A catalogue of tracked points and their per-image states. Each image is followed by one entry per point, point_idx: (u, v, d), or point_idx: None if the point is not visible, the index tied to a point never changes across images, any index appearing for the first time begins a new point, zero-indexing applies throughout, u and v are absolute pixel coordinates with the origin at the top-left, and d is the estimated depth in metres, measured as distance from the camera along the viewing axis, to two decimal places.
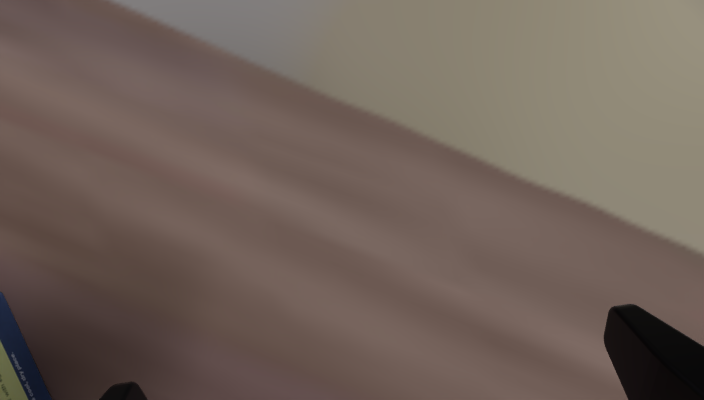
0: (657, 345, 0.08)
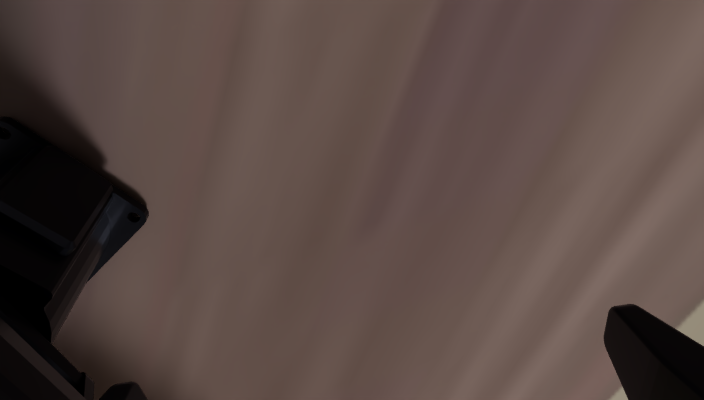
0: (657, 345, 0.08)
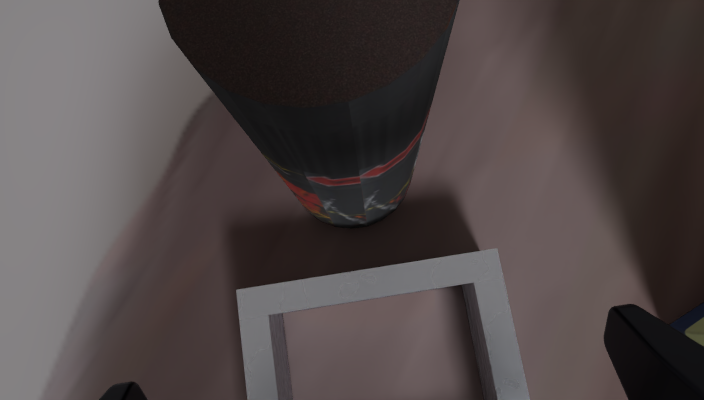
0: (657, 345, 0.08)
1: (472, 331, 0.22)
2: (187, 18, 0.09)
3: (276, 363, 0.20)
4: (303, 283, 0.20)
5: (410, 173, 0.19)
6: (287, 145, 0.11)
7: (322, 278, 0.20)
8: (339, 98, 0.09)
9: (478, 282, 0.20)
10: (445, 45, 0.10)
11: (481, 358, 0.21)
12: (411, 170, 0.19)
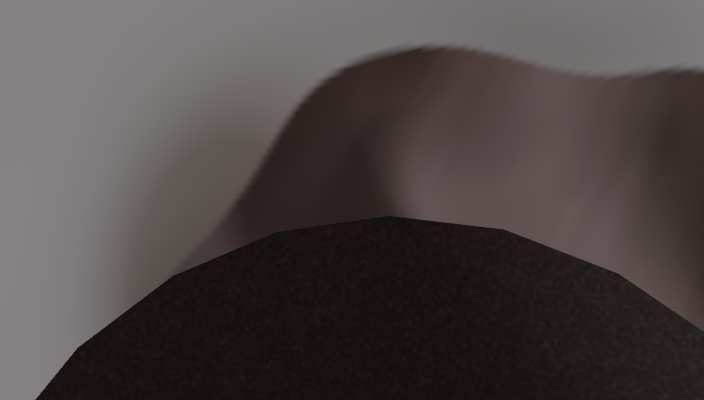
0: None
1: None
2: None
3: None
4: None
5: None
6: None
7: None
8: None
9: None
10: None
11: None
12: None
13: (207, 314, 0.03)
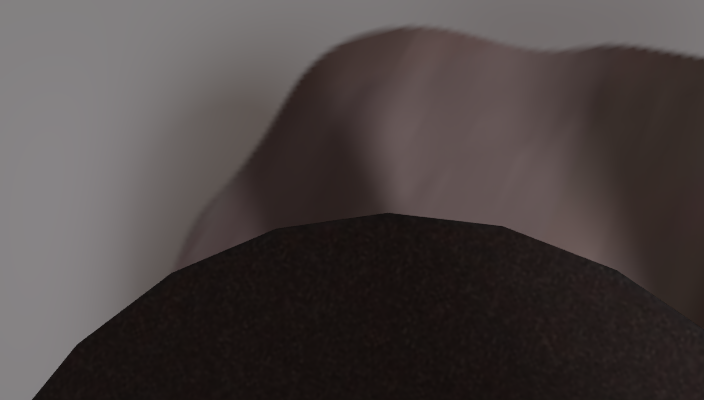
0: None
1: None
2: None
3: None
4: None
5: None
6: None
7: None
8: None
9: None
10: None
11: None
12: None
13: (206, 311, 0.03)
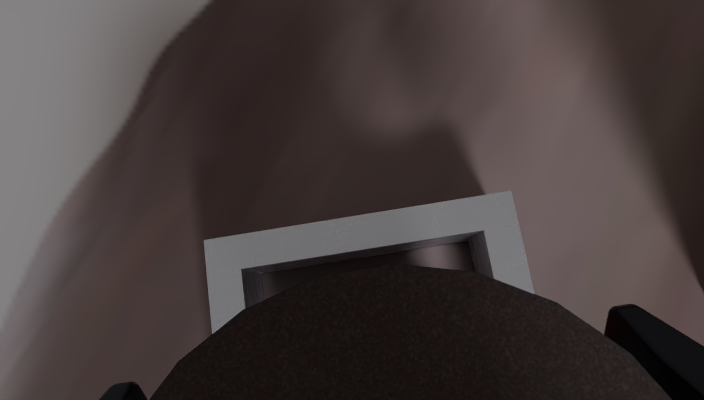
0: (657, 345, 0.08)
1: None
2: None
3: None
4: (282, 232, 0.17)
5: None
6: None
7: (305, 226, 0.17)
8: None
9: (489, 230, 0.17)
10: None
11: None
12: None
13: (269, 336, 0.05)
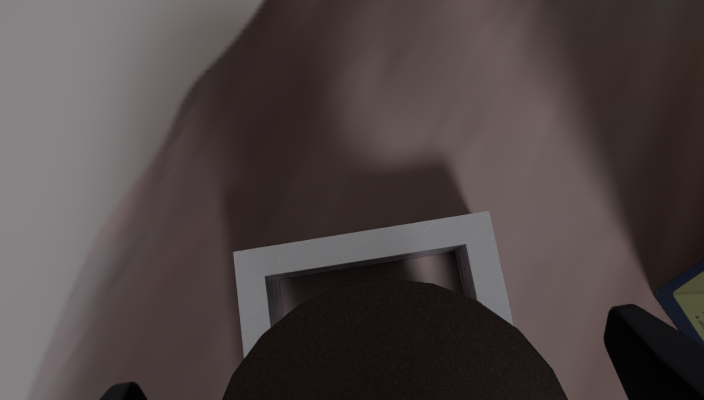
0: (657, 345, 0.08)
1: (465, 295, 0.22)
2: None
3: (272, 323, 0.20)
4: (299, 246, 0.21)
5: None
6: None
7: (317, 240, 0.21)
8: None
9: (470, 244, 0.20)
10: None
11: None
12: None
13: (313, 320, 0.08)
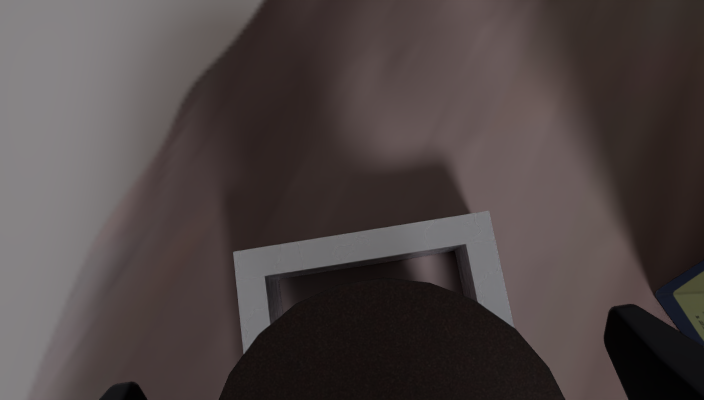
0: (657, 345, 0.08)
1: (465, 295, 0.22)
2: None
3: None
4: (298, 245, 0.21)
5: None
6: None
7: (317, 240, 0.21)
8: None
9: (470, 243, 0.20)
10: None
11: None
12: None
13: (310, 319, 0.08)
